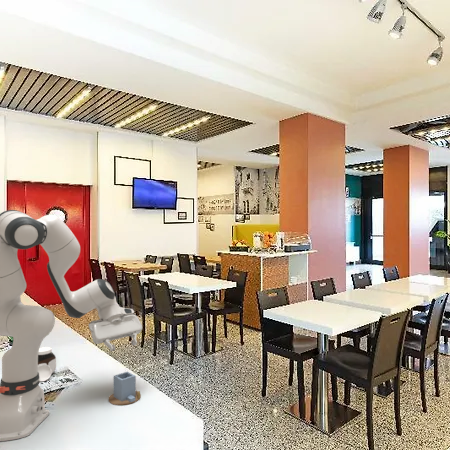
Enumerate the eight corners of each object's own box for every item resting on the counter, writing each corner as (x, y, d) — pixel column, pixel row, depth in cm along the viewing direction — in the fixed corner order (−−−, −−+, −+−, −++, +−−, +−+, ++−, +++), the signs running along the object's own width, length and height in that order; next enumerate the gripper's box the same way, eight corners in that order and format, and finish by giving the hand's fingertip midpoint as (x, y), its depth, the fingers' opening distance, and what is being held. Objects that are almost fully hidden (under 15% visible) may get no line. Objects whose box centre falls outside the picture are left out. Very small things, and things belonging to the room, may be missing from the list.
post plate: (102, 398, 148) (102, 381, 148) (130, 388, 156) (130, 372, 156) (118, 408, 139) (118, 390, 139) (146, 397, 148) (146, 380, 148)
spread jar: (48, 370, 177) (48, 344, 177) (64, 374, 171) (63, 348, 171) (23, 379, 166) (23, 352, 166) (39, 384, 161) (38, 356, 160)
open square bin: (113, 396, 148) (113, 375, 148) (127, 391, 152) (127, 371, 152) (125, 404, 141) (125, 382, 141) (140, 398, 145) (139, 377, 145)
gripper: (89, 317, 146) (101, 349, 139) (136, 308, 160) (149, 337, 153) (84, 326, 149) (96, 358, 142) (130, 317, 163) (143, 345, 157)
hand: (124, 347), depth 148 cm, fingers open, 8 cm apart
